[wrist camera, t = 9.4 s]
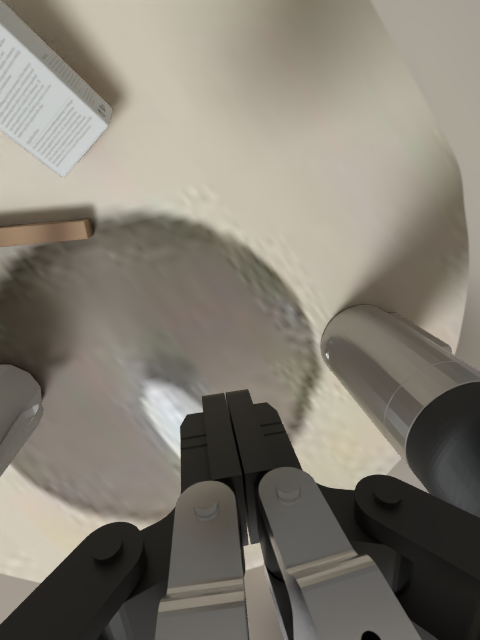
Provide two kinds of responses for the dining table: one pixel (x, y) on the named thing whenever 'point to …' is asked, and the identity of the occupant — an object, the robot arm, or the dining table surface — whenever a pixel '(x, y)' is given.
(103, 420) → the dining table surface
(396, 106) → the dining table surface
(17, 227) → the brown wooden frame
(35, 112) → the skincare box
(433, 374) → the robot arm
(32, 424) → the water bottle
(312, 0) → the dining table surface
